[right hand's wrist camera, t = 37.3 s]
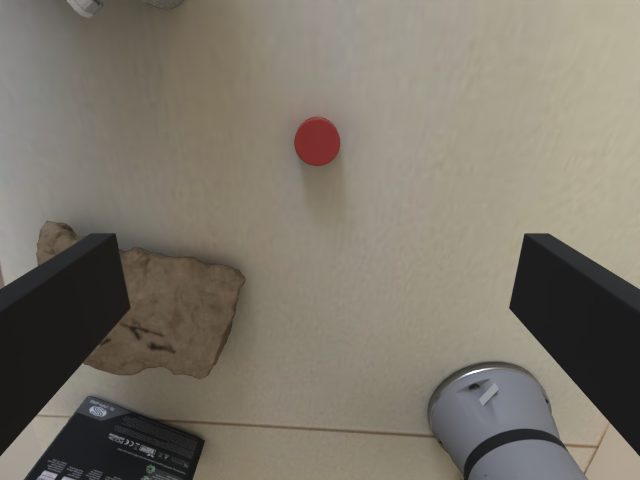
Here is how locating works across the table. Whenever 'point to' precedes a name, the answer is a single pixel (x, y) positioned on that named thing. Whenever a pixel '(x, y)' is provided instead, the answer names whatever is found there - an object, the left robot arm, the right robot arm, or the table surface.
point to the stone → (161, 310)
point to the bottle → (164, 3)
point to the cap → (317, 141)
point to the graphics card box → (117, 448)
